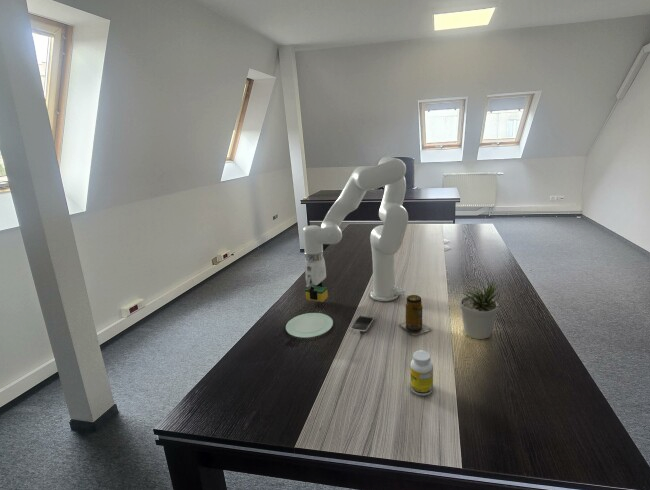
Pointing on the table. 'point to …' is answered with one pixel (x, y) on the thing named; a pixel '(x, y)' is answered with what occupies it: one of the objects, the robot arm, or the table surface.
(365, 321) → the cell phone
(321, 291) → the sponge
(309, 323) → the plate
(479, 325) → the potted plant
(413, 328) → the condiment
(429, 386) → the pill bottle
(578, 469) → the table surface
